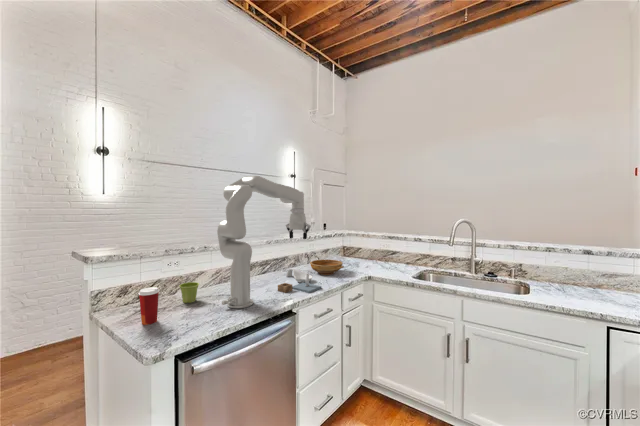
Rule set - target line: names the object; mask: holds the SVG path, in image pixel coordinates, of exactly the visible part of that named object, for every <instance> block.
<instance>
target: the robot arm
mask: <svg viewBox="0 0 640 426" xmlns="http://www.w3.org/2000/svg"><path fill="white" fill-rule="evenodd" d="M254 192H255V193H258V194H261V195H264V196H266V197H268V198H274V199H279V200H280V202H282V203H284V204H291V209H290V210H289V212H291V213H290V216H289V220H288V221H289V222H288V223H287V224H285V227H286V230H287V231H288V233H289V240H290V239H294V231H295V230H296V231H302V232H303V233H302V239H303V240H307V238H308V232H309V231H310V229H311V225H310V224H309V223H307V218H306V214H305V193H304V192H303V191H300V190H299V189H296V188H294V187H292V186H288V185H285V184H281V183H277V182H274V181H272V180H269V179H267V178H264V177H262V176H260V175H248V176H244V177H242V178H239V179H238V180H236V181H234V182H232V183H230V184H229V185H227V186H226V187H225V188H224V190H223V193H222V194H223V197H224V199H225V200H226V201H227V203H226V207H225V220H224V219H223V220H222V221H221V222H220V223H219V224H218V226H217V230H216V231H217V240H218V245H219V252H220V253H221V255H222V257H224V258H225V259H227V260H232V263H231V265H230V270H229V271H230V273H229V274H230V277H229V279H230V280H229V281H230V295H229V296H228V298H227V299H225V300H222V301H221V304H222V306H225V305H227V307H228V308H230V309H244V308H249V307H251V306H252V305H253V304H254V300H253V299H252V298H251V260H252V257H253V256H252V255H253V249H252V246H251V245H250V244H249V242H246V241H239V240H241V239H244V238H245V237H246V235H247V227H246V226H247V225H246V219H245V206H246V204H247V203H248V202H249V201H250V199H251V197H252V195H253V193H254Z"/></svg>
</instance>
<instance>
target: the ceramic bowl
mask: <svg viewBox="0 0 640 426" xmlns="http://www.w3.org/2000/svg"><path fill="white" fill-rule="evenodd" d="M309 265H310V267H311V269H312V270H313V271H315V272H317V273H318V274H319V275H323V276H331V275H334V274H335V273H336V272H339V271H340V270H341V269H344V268H345V267H344V265H343V261H340V260H338V259H337V260H336V259H315V260H311V261H310V262H309Z"/></svg>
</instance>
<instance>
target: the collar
mask: <svg viewBox="0 0 640 426" xmlns="http://www.w3.org/2000/svg"><path fill="white" fill-rule="evenodd" d="M292 286H293V284H291V283H287V282H283V283H280V284H277V292H280V293H283V294H287V293H290V292H292V291H293V289H292Z"/></svg>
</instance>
